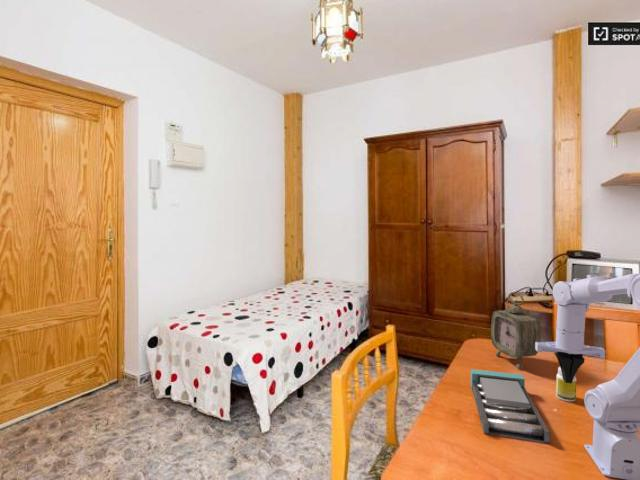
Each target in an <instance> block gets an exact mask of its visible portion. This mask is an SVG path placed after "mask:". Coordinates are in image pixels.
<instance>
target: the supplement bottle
mask: <svg viewBox="0 0 640 480" xmlns="http://www.w3.org/2000/svg"><path fill="white" fill-rule="evenodd" d="M555 376H556V377H555V379H556V380H555V396H556V397H557V399H559V400H562V401H565V402H575V401H576V400H577V399H576V397H577V377H576V375H575V376H574V378H573V381H572V383H565V381H564V380H563V376H562V371H561V367H560V366H558V367H557V374H556V375H555Z"/></svg>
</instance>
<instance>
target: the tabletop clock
mask: <svg viewBox="0 0 640 480" xmlns="http://www.w3.org/2000/svg"><path fill="white" fill-rule="evenodd" d="M511 295H516V296H518V297H520V299H521V302H520V303H518V300H517V299H515V300H514V301H513V300H512V299H511ZM508 300H509V302H511V303H512V304H511V305H510V306H509V307H508V308H507V309H505V310H494V311H492V314H491V320H490V321H491V322H490V338H491V344H492V345H493V347H494V348H496V350H498V351H496V352H495V356H496V357H500V356H501V353H502V354H504V355H506V356H509V357H511V358H516V360H517V361H518V363H517V364H516V369H519V370H521V369H522V368H523V365H522V364H521V362H522V361H523V358H524V357H525V358H526V357H534V356H537V354H539V352H537V351H536V349H535V342H541V341H542V339H541V338H542V333H541V332H542V327H541V326H542V325H541V323H540V320H539V319H538V318H537V317H534V316H533V315H530V314H529V313H526V312H525V310H524V308H523V307H522V306H521V305H523V304H524V297H523V296H522V295H521V294H520V293H518V292H516V291H512V292H510V293H509V294H508Z"/></svg>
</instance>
